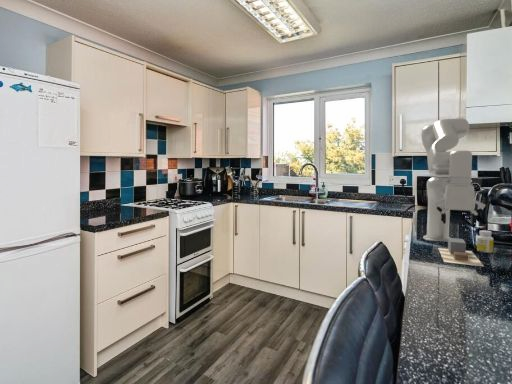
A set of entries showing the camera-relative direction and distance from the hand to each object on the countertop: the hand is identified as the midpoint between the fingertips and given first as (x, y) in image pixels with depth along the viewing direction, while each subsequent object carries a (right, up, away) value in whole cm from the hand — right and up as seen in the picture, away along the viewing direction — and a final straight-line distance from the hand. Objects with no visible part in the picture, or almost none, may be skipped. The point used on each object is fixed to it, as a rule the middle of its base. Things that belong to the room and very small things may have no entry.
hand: (458, 224), depth 122 cm
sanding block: (0, -12, +1) cm, 12 cm away
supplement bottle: (+14, -13, +4) cm, 19 cm away
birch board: (-2, -14, -4) cm, 14 cm away
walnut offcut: (-4, -12, -7) cm, 15 cm away
